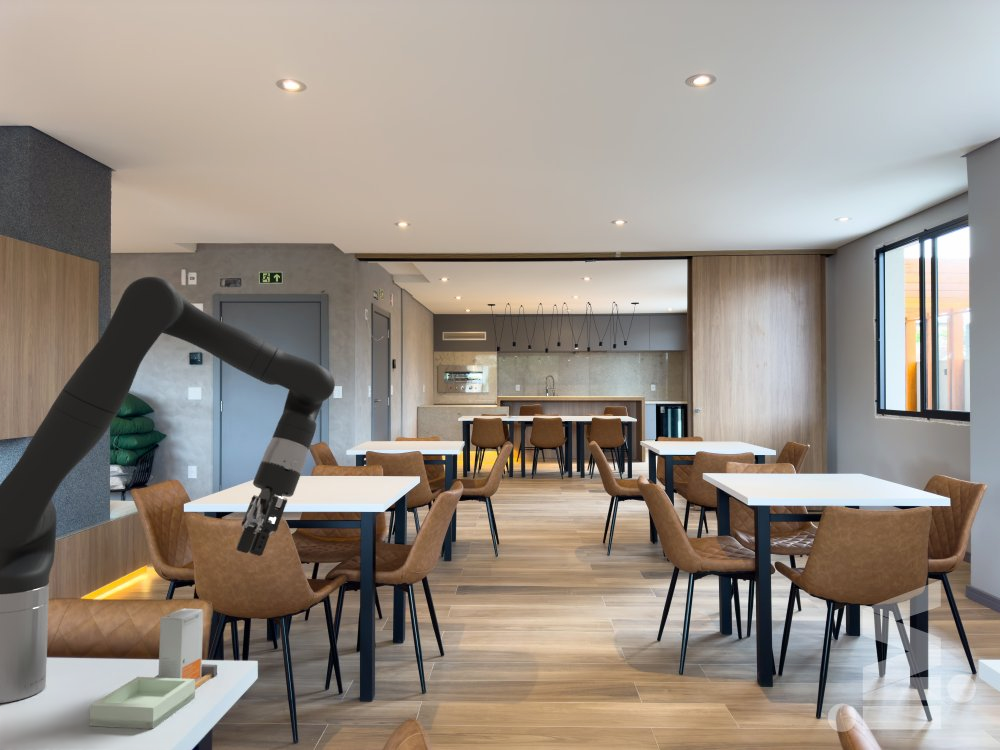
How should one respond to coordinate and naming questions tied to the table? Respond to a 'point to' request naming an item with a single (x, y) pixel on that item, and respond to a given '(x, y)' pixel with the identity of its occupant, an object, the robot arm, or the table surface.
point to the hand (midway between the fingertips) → (248, 553)
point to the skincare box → (181, 644)
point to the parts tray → (142, 702)
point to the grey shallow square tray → (205, 674)
